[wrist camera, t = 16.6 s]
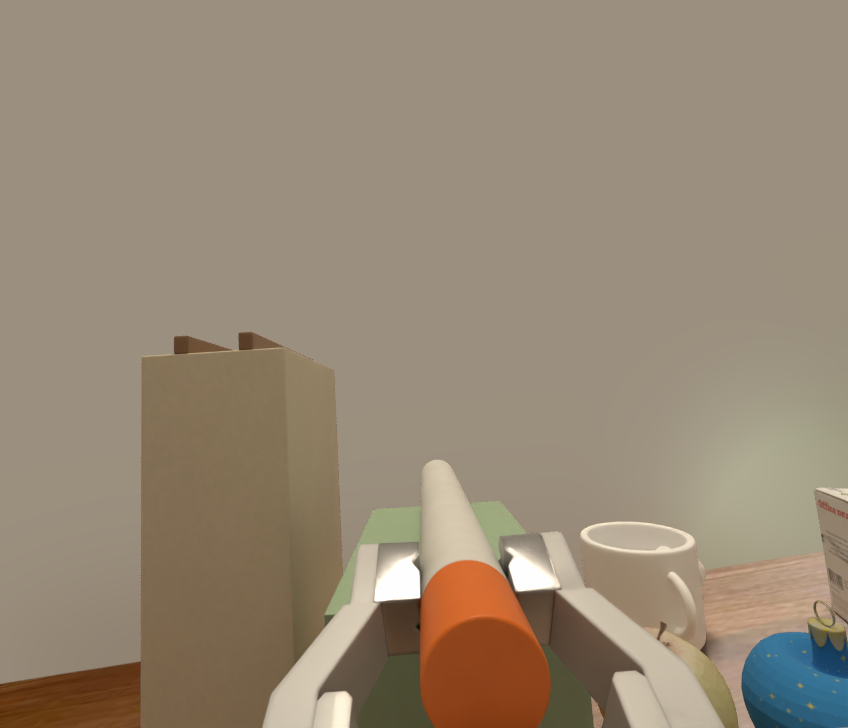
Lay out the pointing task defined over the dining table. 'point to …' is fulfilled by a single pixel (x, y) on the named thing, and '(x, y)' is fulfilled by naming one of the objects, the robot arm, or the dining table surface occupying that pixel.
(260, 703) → the tall stand
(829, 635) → the ornament
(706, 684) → the fruit
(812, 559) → the dining table surface
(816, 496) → the ink box
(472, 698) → the marker
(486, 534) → the low block
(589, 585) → the mug
